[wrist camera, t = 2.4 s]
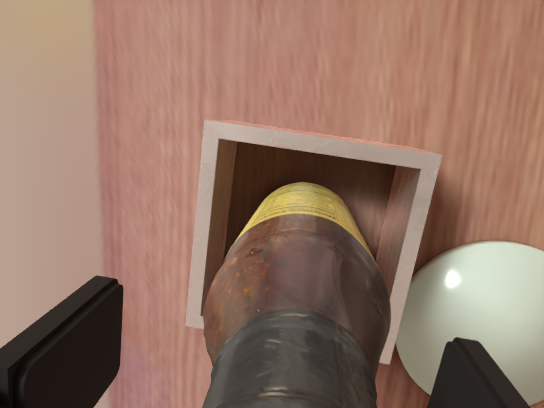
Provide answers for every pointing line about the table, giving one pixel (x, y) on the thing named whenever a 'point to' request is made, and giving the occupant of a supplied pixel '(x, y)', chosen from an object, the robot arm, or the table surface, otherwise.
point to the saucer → (478, 312)
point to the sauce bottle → (297, 308)
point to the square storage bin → (409, 160)
